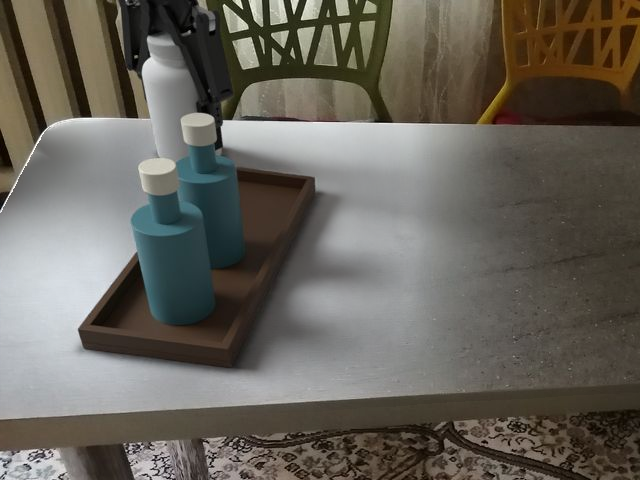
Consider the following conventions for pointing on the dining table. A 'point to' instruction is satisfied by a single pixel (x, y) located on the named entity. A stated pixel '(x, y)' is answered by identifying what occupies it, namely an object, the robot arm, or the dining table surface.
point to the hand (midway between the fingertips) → (187, 139)
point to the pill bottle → (169, 95)
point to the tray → (229, 283)
